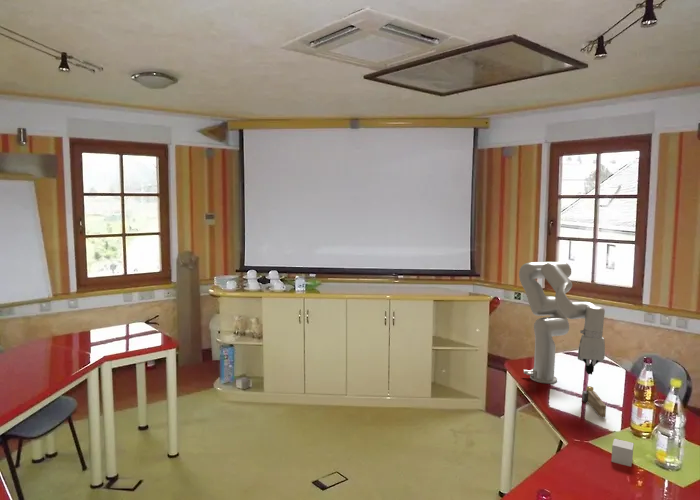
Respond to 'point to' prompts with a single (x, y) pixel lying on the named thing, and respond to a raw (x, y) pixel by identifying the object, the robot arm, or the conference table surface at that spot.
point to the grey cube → (622, 452)
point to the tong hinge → (585, 396)
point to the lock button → (589, 388)
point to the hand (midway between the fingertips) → (589, 373)
